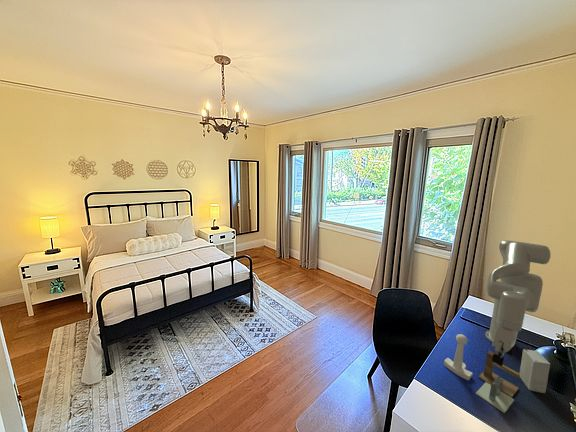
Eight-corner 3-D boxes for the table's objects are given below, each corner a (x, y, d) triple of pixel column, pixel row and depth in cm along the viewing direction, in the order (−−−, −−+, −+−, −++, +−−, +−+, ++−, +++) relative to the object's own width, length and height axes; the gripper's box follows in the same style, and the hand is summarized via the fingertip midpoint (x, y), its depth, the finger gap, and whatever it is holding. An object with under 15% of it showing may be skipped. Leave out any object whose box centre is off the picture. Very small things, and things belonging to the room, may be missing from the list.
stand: (486, 370, 118) (490, 347, 115) (519, 389, 107) (524, 364, 105) (478, 377, 114) (482, 354, 111) (512, 398, 103) (517, 373, 101)
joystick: (442, 364, 121) (447, 330, 117) (450, 358, 125) (455, 324, 121) (467, 381, 112) (473, 344, 108) (475, 374, 115) (481, 338, 111)
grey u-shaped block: (495, 390, 107) (498, 375, 105) (500, 393, 105) (503, 378, 103) (488, 398, 103) (491, 383, 101) (493, 401, 101) (496, 386, 100)
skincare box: (545, 394, 105) (552, 365, 102) (528, 390, 107) (534, 362, 104) (533, 377, 113) (539, 350, 110) (517, 374, 115) (522, 348, 112)
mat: (485, 383, 111) (485, 381, 111) (514, 400, 102) (514, 399, 102) (475, 393, 106) (475, 392, 106) (504, 413, 97) (504, 412, 97)
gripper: (505, 310, 104) (499, 344, 108) (488, 324, 95) (481, 361, 99) (529, 319, 97) (521, 355, 101) (513, 335, 89) (505, 374, 93)
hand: (502, 358), depth 100 cm, fingers open, 9 cm apart
